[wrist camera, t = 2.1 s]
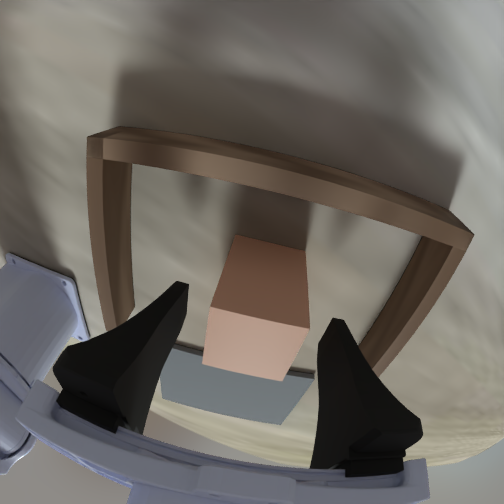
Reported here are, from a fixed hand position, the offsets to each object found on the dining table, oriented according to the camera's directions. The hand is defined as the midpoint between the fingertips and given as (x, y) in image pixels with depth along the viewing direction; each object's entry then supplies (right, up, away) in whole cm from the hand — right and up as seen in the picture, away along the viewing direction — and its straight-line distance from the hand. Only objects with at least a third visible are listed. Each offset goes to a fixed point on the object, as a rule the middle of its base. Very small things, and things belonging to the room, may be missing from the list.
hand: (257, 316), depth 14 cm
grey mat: (-2, -10, +11) cm, 15 cm away
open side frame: (0, +2, +3) cm, 4 cm away
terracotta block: (0, +2, +3) cm, 4 cm away
